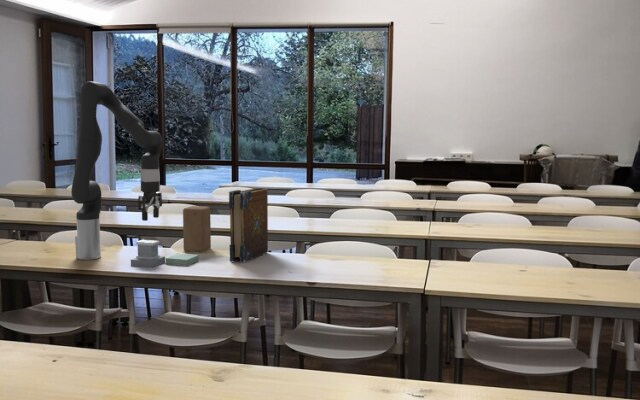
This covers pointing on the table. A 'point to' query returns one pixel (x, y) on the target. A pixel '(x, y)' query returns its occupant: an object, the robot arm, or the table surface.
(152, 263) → the stand
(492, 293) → the table surface
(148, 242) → the housing
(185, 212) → the wooden block
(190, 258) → the stand
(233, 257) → the decorative book
